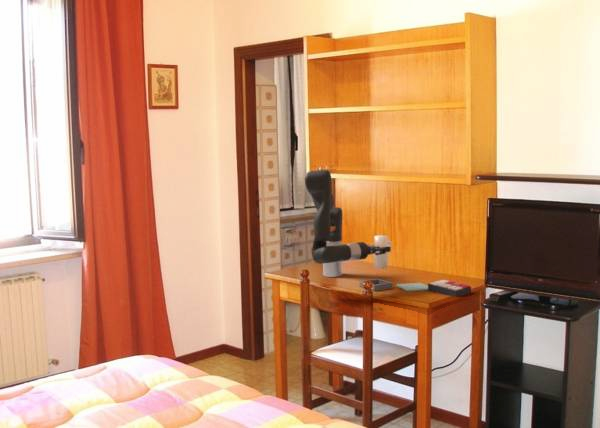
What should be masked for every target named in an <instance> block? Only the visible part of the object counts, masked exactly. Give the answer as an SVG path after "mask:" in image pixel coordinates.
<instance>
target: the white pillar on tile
mask: <svg viewBox="0 0 600 428" xmlns="http://www.w3.org/2000/svg"><path fill="white" fill-rule="evenodd" d="M373 238H374V241H373V242H374V244H373V245H374V246H379V247H391V248H392V241H391V240H389V236H388V235H385V234H384V235H383V234H377V235H374V237H373ZM376 249H377V248H376ZM391 252H392V250H391V251H390V252H386V254H380V255H375V254H373V268H374V269H388V267H389V265H388V261H389V257H388V256H389V253H391Z"/></svg>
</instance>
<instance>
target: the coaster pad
mask: <svg viewBox="0 0 600 428" xmlns="http://www.w3.org/2000/svg"><path fill="white" fill-rule="evenodd" d="M395 285H396V287H398V288H400V289H401V290H403V291H404V292H418V291H419V292H421V291H422V292H423V291H428V285H427V284H424V283H423V282H414V283H413V282H412V283H398V284H395Z"/></svg>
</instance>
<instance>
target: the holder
mask: <svg viewBox="0 0 600 428" xmlns="http://www.w3.org/2000/svg"><path fill="white" fill-rule="evenodd" d="M365 281H371V282H372V283H373V289H372V290H373V292H378V291H382V290H390V289H393V287H394V286H393V285H394V284H393V283H394V282H393V281H388V280H385V279H381V278H373V279H366V280H359V287H360V286H361V287H360V288H362V286H363V283H364V282H365ZM372 290H371V291H372Z"/></svg>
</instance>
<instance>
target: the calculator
mask: <svg viewBox="0 0 600 428" xmlns="http://www.w3.org/2000/svg"><path fill="white" fill-rule="evenodd" d="M427 286H428V290H427V292H431V293H436V294H437V293H438V294H441V295H444V296H445V295H446V296H450V297H454V298H455V297H457V298H458V297H462V296H465V295H468V294H471V293H472V287H471V286H470V285H469V284H464V283H460V282H456V281H452V280H447V279H441V280H436V281H433V282H430V283H428V285H427Z"/></svg>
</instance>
